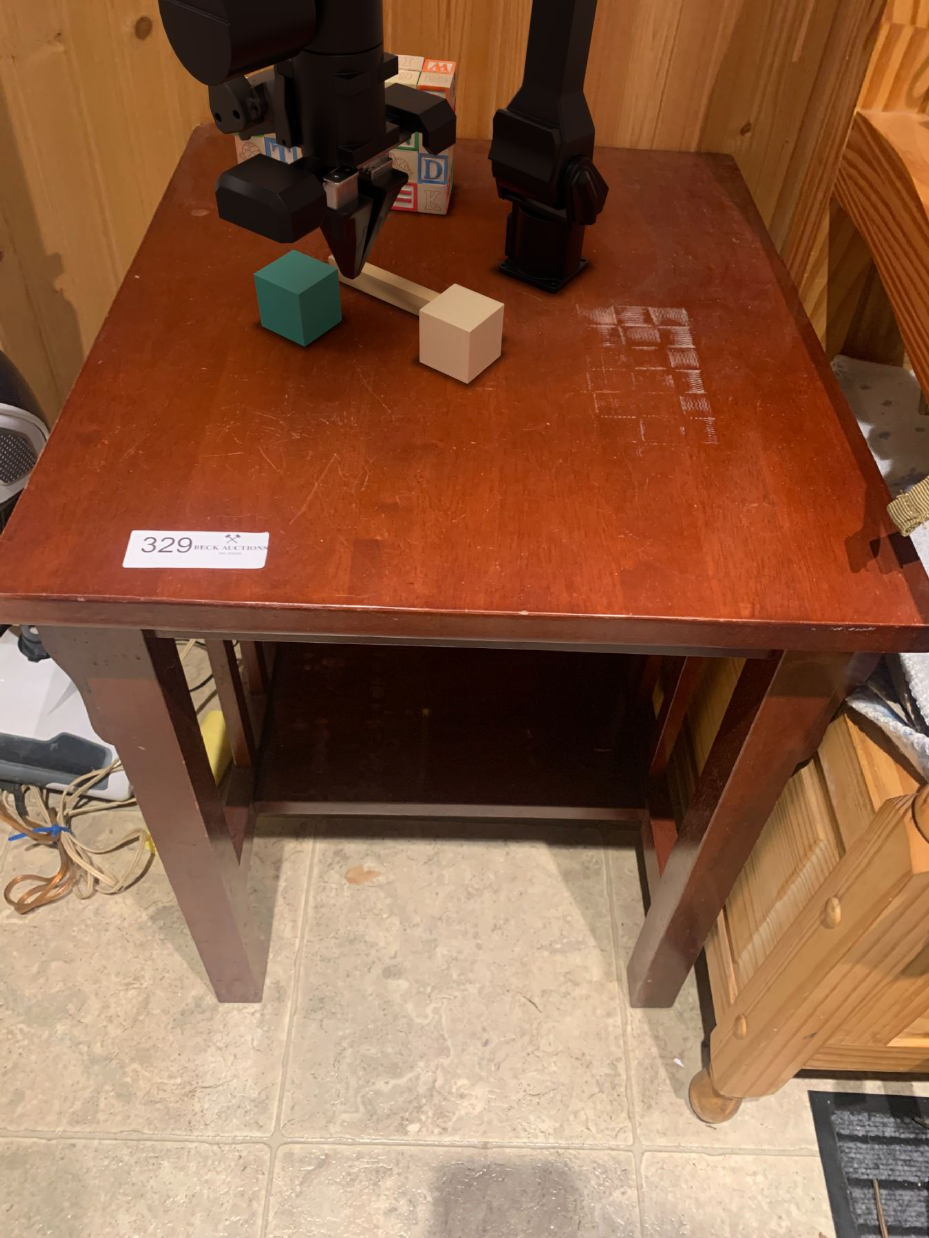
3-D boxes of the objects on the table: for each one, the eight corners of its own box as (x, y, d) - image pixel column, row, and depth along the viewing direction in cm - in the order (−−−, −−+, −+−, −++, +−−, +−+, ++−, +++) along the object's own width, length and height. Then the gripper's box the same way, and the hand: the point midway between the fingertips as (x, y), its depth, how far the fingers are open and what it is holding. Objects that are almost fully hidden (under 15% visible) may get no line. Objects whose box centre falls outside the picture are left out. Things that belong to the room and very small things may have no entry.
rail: (498, 339, 80) (499, 319, 79) (488, 347, 79) (489, 327, 78) (339, 270, 86) (338, 250, 85) (329, 277, 86) (327, 257, 84)
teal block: (342, 320, 81) (338, 268, 77) (304, 347, 79) (298, 294, 75) (299, 301, 83) (293, 249, 79) (261, 326, 80) (253, 273, 76)
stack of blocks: (241, 197, 94) (221, 66, 85) (256, 169, 98) (238, 41, 89) (447, 215, 93) (450, 85, 84) (454, 186, 97) (457, 58, 88)
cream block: (500, 355, 79) (504, 304, 75) (467, 384, 76) (469, 331, 72) (453, 335, 80) (454, 283, 76) (419, 362, 78) (419, 309, 74)
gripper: (330, -30, 63) (344, 195, 75) (124, 49, 53) (178, 294, 65) (464, 8, 59) (456, 238, 71) (271, 101, 49) (299, 350, 61)
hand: (350, 276), depth 67 cm, fingers closed
